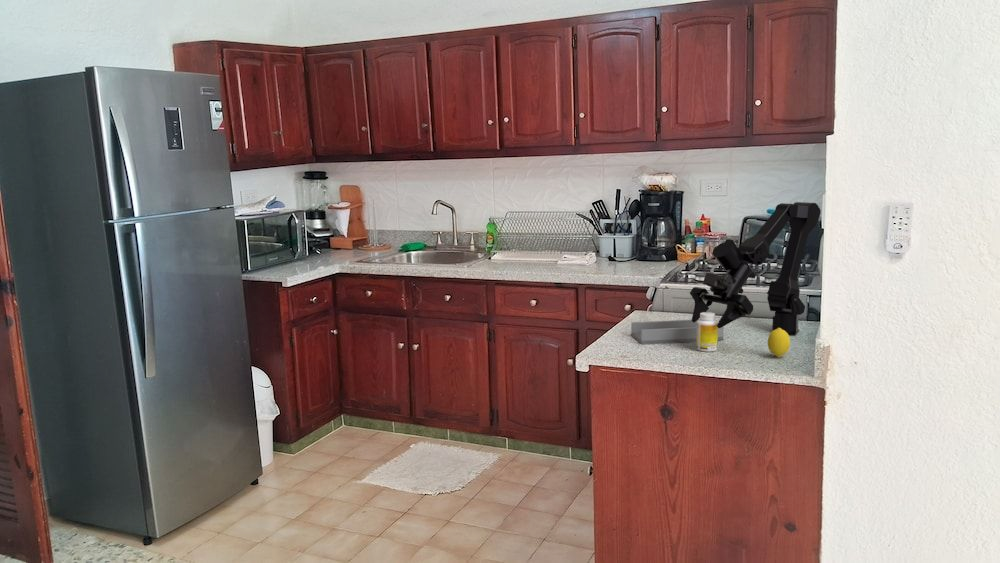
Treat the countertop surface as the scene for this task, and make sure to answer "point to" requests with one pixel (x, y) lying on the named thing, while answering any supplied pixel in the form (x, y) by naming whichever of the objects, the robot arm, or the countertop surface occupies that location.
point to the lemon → (778, 342)
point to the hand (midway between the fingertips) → (705, 324)
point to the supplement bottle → (707, 332)
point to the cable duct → (667, 331)
